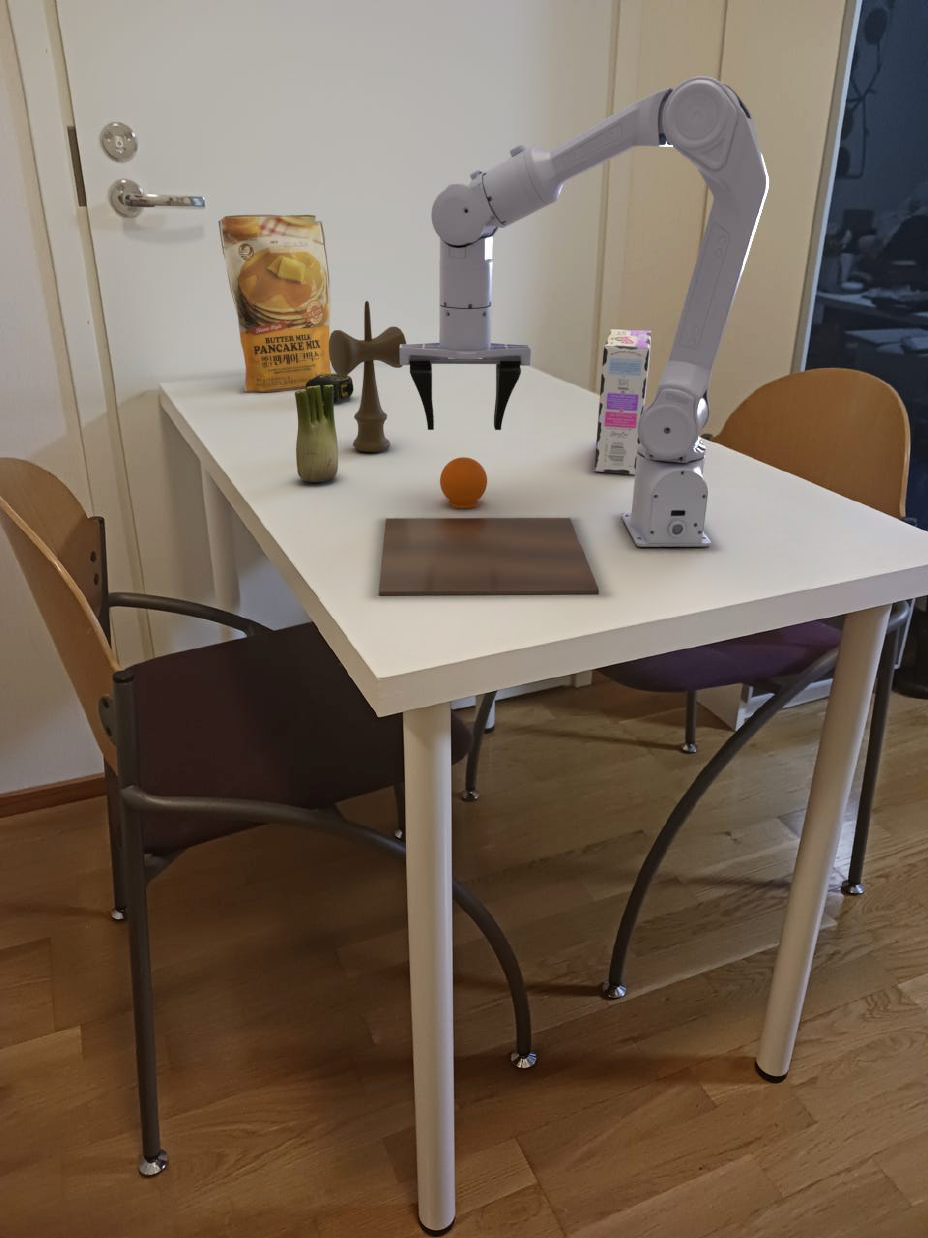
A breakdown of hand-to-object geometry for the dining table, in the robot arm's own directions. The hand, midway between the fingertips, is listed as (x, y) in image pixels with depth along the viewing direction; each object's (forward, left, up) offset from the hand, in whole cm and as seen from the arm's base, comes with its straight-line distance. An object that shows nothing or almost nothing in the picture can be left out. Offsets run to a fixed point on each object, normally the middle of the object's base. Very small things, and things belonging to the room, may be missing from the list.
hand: (464, 427), depth 111 cm
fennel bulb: (+9, +18, -9) cm, 22 cm away
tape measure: (+52, +20, -9) cm, 57 cm away
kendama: (+23, +12, -9) cm, 28 cm away
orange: (0, 0, -9) cm, 9 cm away
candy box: (+18, -22, -9) cm, 30 cm away
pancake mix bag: (+62, +29, -9) cm, 69 cm away
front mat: (-16, -2, -9) cm, 19 cm away
